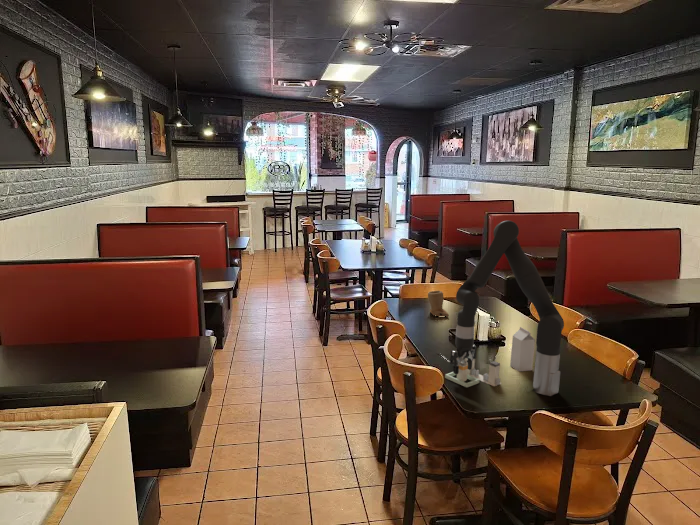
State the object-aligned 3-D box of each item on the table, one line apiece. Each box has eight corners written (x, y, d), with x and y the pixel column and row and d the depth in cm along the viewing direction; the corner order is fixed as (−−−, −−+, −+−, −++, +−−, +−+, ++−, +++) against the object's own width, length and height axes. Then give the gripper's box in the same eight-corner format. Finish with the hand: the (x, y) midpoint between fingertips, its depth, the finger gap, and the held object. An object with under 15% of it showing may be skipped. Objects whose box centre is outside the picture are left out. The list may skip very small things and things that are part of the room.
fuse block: (501, 386, 217) (503, 363, 215) (494, 389, 214) (496, 366, 212) (467, 372, 232) (469, 350, 230) (460, 375, 229) (461, 352, 226)
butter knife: (440, 352, 256) (435, 352, 255) (469, 373, 231) (463, 373, 230) (440, 353, 256) (435, 353, 255) (468, 374, 231) (463, 375, 230)
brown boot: (425, 311, 326) (426, 288, 323) (443, 311, 327) (445, 288, 324) (429, 318, 311) (431, 294, 309) (449, 318, 312) (450, 294, 309)
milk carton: (518, 372, 233) (522, 332, 230) (509, 366, 240) (513, 327, 236) (532, 370, 235) (535, 331, 232) (523, 364, 242) (526, 326, 238)
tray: (478, 386, 218) (479, 379, 217) (466, 390, 213) (467, 384, 212) (457, 376, 227) (457, 370, 226) (444, 380, 222) (445, 374, 221)
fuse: (466, 382, 219) (468, 362, 218) (461, 383, 218) (463, 363, 216) (461, 379, 222) (462, 360, 220) (456, 381, 220) (457, 361, 218)
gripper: (460, 340, 208) (458, 378, 212) (482, 334, 217) (480, 370, 220) (446, 335, 214) (444, 372, 217) (468, 329, 223) (466, 364, 226)
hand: (462, 371), depth 219 cm, fingers open, 8 cm apart
